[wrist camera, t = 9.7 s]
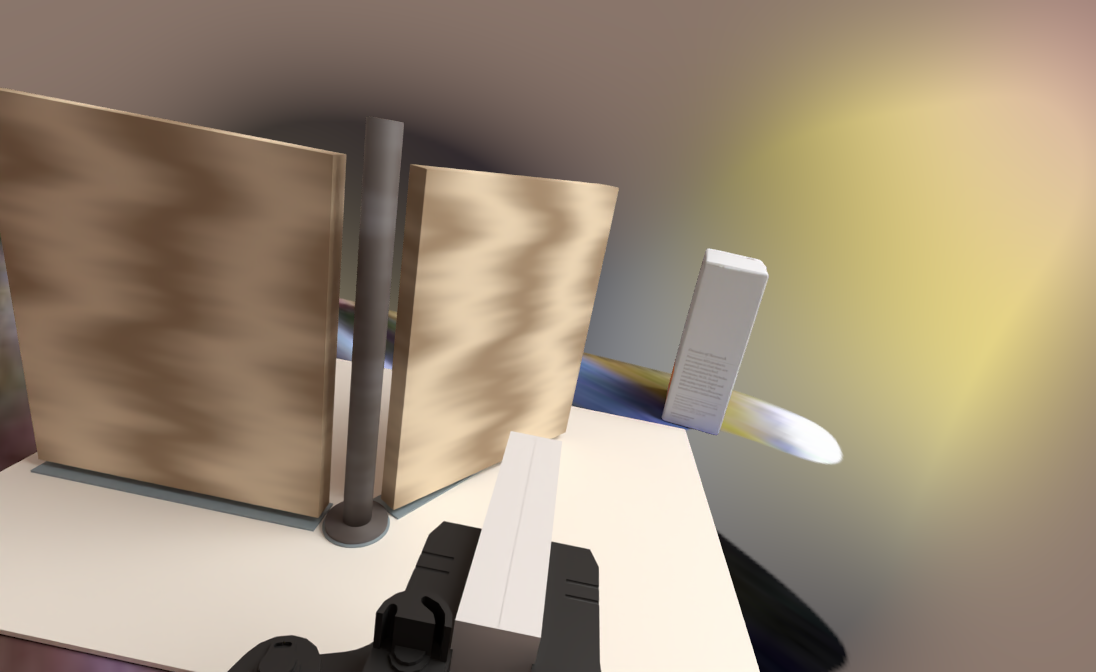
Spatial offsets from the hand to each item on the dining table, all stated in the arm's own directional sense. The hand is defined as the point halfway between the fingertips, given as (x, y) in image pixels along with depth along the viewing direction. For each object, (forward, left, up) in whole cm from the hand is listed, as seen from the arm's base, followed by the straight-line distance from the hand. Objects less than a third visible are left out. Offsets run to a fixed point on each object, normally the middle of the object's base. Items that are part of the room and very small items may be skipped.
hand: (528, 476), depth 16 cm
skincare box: (+11, +25, -8) cm, 28 cm away
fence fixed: (-13, +6, -8) cm, 17 cm away
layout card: (-6, +10, -8) cm, 14 cm away
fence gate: (-2, +12, -8) cm, 14 cm away
